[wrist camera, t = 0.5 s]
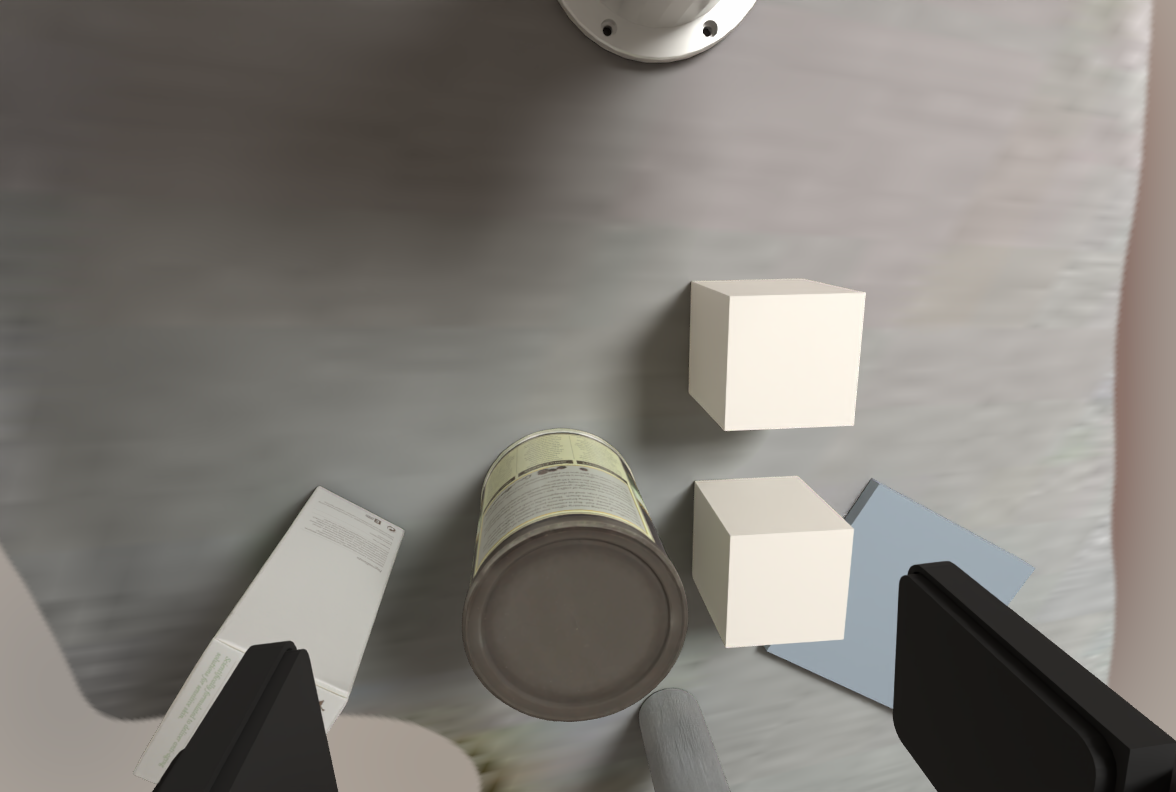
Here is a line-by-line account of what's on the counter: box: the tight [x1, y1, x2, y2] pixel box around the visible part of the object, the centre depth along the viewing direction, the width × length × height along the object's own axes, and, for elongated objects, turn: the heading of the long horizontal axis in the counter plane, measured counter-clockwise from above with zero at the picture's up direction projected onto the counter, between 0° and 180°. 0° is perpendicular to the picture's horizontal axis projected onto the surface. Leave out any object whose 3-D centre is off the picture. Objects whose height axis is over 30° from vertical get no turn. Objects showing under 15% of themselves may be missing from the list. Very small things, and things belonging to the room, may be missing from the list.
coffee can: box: [462, 428, 688, 722], centre depth 38 cm, size 10×10×14 cm
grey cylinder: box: [639, 688, 731, 792], centre depth 44 cm, size 4×4×10 cm
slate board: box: [764, 479, 1035, 709], centre depth 48 cm, size 14×14×1 cm
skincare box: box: [133, 486, 405, 784], centre depth 36 cm, size 8×7×16 cm
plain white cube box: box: [688, 279, 866, 431], centre depth 39 cm, size 7×7×8 cm
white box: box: [692, 476, 854, 648], centre depth 42 cm, size 7×7×8 cm
